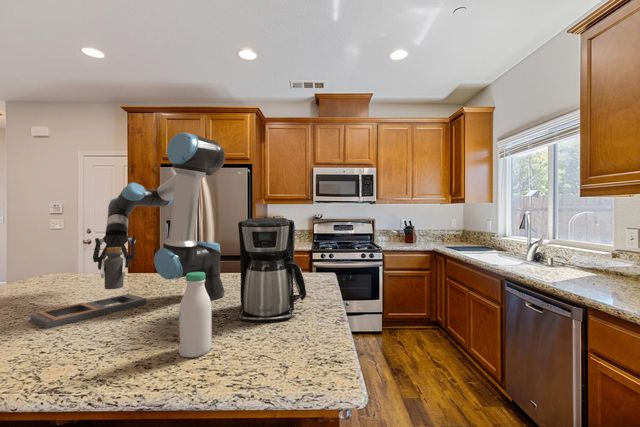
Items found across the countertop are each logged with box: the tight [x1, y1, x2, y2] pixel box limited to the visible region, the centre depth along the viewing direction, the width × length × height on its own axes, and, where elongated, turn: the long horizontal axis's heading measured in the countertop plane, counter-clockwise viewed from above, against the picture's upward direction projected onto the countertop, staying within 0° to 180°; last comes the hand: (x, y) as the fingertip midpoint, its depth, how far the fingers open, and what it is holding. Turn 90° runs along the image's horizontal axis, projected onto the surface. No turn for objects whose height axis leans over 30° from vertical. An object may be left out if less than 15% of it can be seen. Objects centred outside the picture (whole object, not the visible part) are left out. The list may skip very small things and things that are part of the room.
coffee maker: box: [237, 217, 307, 323], centre depth 112 cm, size 23×32×34 cm
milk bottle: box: [178, 272, 212, 358], centre depth 77 cm, size 8×8×20 cm
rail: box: [29, 293, 147, 330], centre depth 107 cm, size 13×30×2 cm, turn 149°
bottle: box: [104, 247, 124, 290], centre depth 114 cm, size 6×6×15 cm
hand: (113, 274), depth 111 cm, fingers closed on bottle, 6 cm apart
